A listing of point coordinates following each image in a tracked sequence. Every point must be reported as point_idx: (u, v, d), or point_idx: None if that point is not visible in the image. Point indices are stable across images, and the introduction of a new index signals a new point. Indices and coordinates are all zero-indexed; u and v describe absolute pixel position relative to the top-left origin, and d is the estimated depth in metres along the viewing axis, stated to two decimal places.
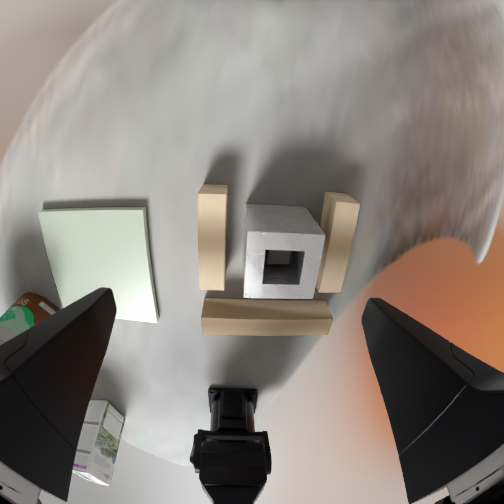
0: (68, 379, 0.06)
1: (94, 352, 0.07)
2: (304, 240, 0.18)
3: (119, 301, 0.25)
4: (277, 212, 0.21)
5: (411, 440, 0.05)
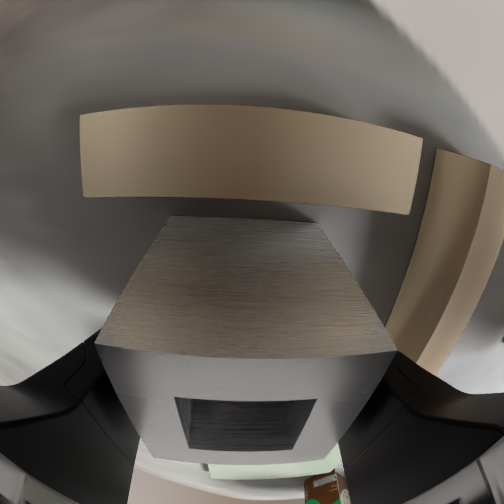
0: None
1: None
2: (136, 395, 0.04)
3: None
4: None
5: (354, 456, 0.05)
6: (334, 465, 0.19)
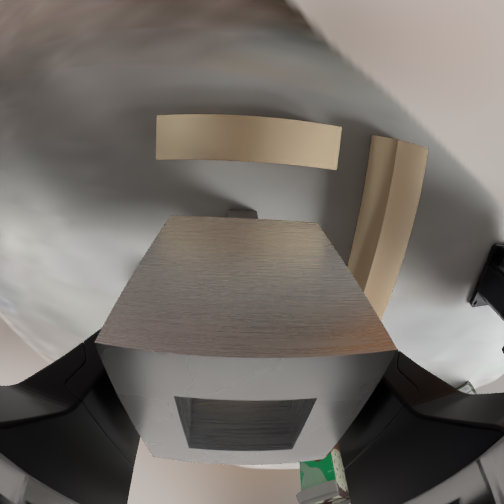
0: None
1: None
2: (136, 394, 0.04)
3: None
4: None
5: (354, 455, 0.05)
6: None
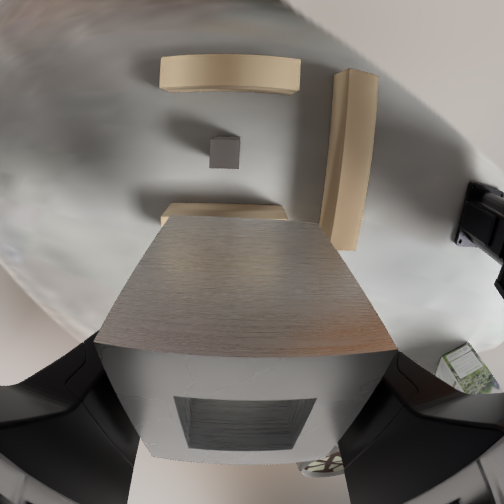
0: None
1: None
2: (136, 394, 0.04)
3: None
4: None
5: (354, 455, 0.05)
6: None
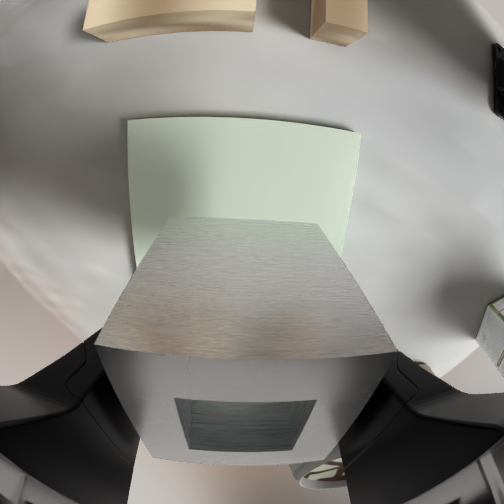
0: None
1: None
2: (136, 395, 0.04)
3: (309, 198, 0.14)
4: None
5: (354, 455, 0.05)
6: None
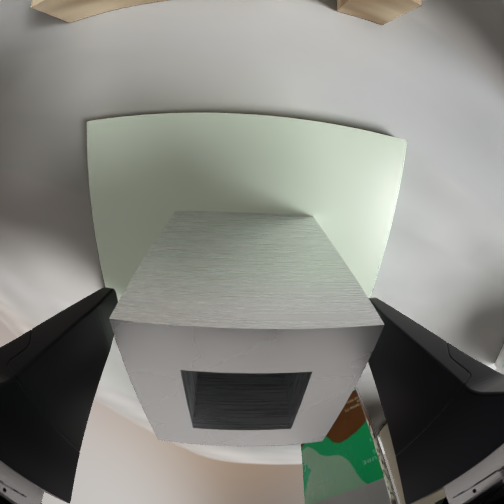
0: (71, 380, 0.06)
1: (97, 353, 0.07)
2: (145, 370, 0.05)
3: (336, 228, 0.10)
4: None
5: (409, 440, 0.05)
6: None
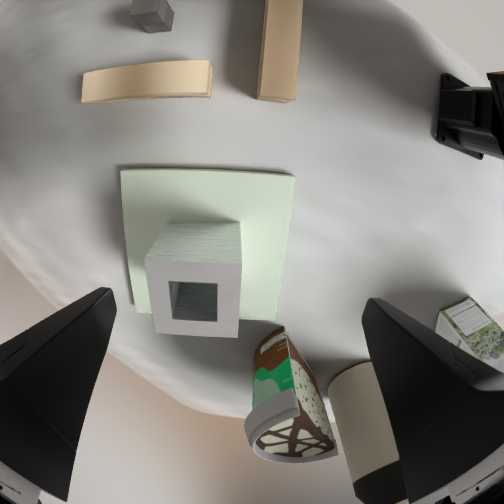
0: (68, 379, 0.06)
1: (94, 352, 0.07)
2: (155, 282, 0.14)
3: (254, 228, 0.19)
4: None
5: (411, 440, 0.05)
6: (274, 296, 0.22)
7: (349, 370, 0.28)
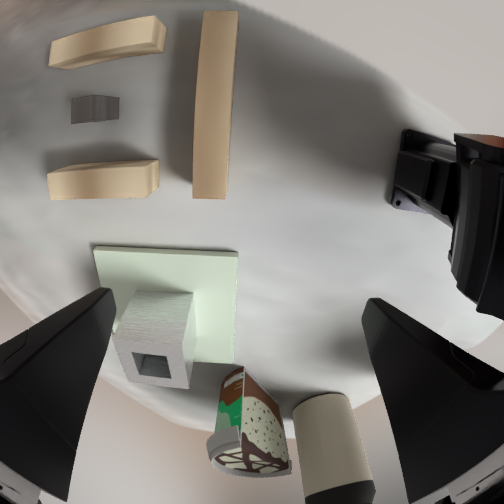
0: (68, 379, 0.06)
1: (94, 352, 0.07)
2: (122, 351, 0.17)
3: (206, 297, 0.22)
4: None
5: (411, 440, 0.05)
6: (230, 346, 0.25)
7: (309, 400, 0.30)
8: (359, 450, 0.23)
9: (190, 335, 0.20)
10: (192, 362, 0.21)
